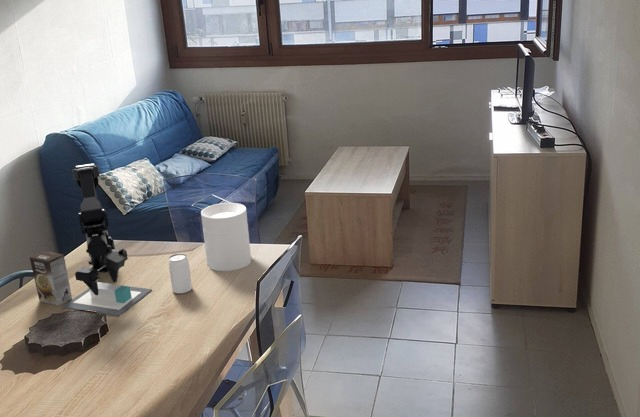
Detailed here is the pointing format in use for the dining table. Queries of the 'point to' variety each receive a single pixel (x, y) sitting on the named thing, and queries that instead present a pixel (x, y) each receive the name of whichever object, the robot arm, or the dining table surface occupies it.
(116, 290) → the marker
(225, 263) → the canister
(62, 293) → the coffee box
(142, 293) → the desk mat
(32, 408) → the dining table surface
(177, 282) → the can
